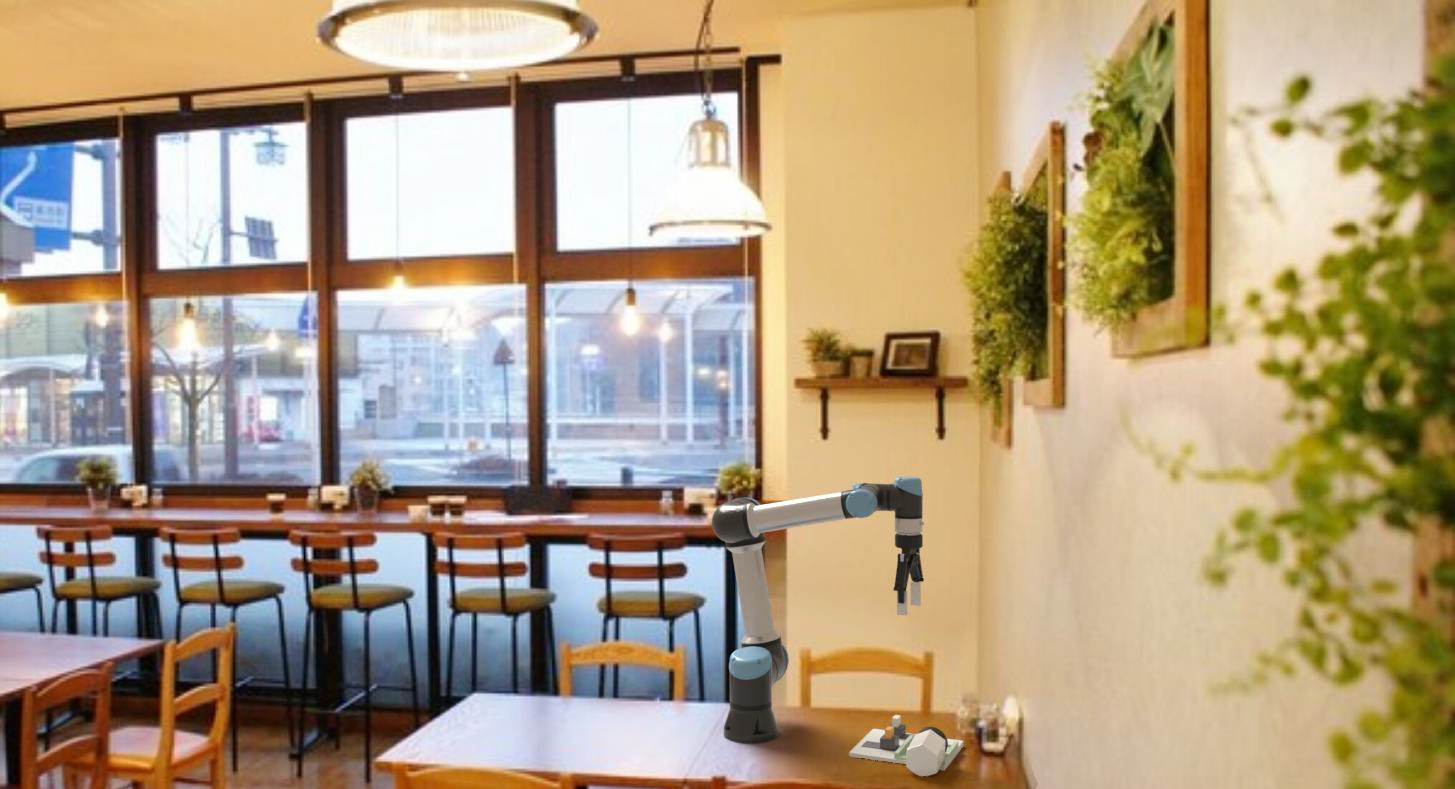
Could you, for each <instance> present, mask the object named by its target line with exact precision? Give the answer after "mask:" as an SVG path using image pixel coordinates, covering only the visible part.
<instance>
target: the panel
mask: <svg viewBox="0 0 1455 789" xmlns="http://www.w3.org/2000/svg"><path fill="white" fill-rule="evenodd" d="M884 734H885V729H880V728H872V729H871V730H870V731H869V732H868V733H867V734H866V735H865V736H864V737H863V738H862V739H861V740H860V741H859V742H858V743H857V744H855V746H854V747H853V748H852V749H851V750H850V751H849V752H848V757H849V756H850V757H849V758H856V759H861V758H865V759H864V760H868V759H870V760H869V761H875V760H876V762H882V761H888V762H893V763H892V764H895V763H904V764H906V752H907V748H908V747H909V745H910V743H911V741H912V740H913V738H914V736H915V735H916V734H917V733H910V732H906V734H905V735H904V736H903V737H902V738H899V746H898V747H897V748H896V749H895V750H890V749H883V748H880V738H881V737H882V736H883V735H884ZM947 741H948V747H947V751H946V752H945V758H944V759H943V762H942V764H941V766H940V768H939V770H938V771H943V772H944V771H946V769H947V768H948V766H950V764H951V763H952V762H953V761H954V759H955V758H956V757H957V755H958V754H959V752H960V751H961V750H962V749H963V747H964V740H960V739H952V738H947ZM961 748H962V749H961ZM877 760H878V761H877ZM888 762H887V763H888Z"/></svg>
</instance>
